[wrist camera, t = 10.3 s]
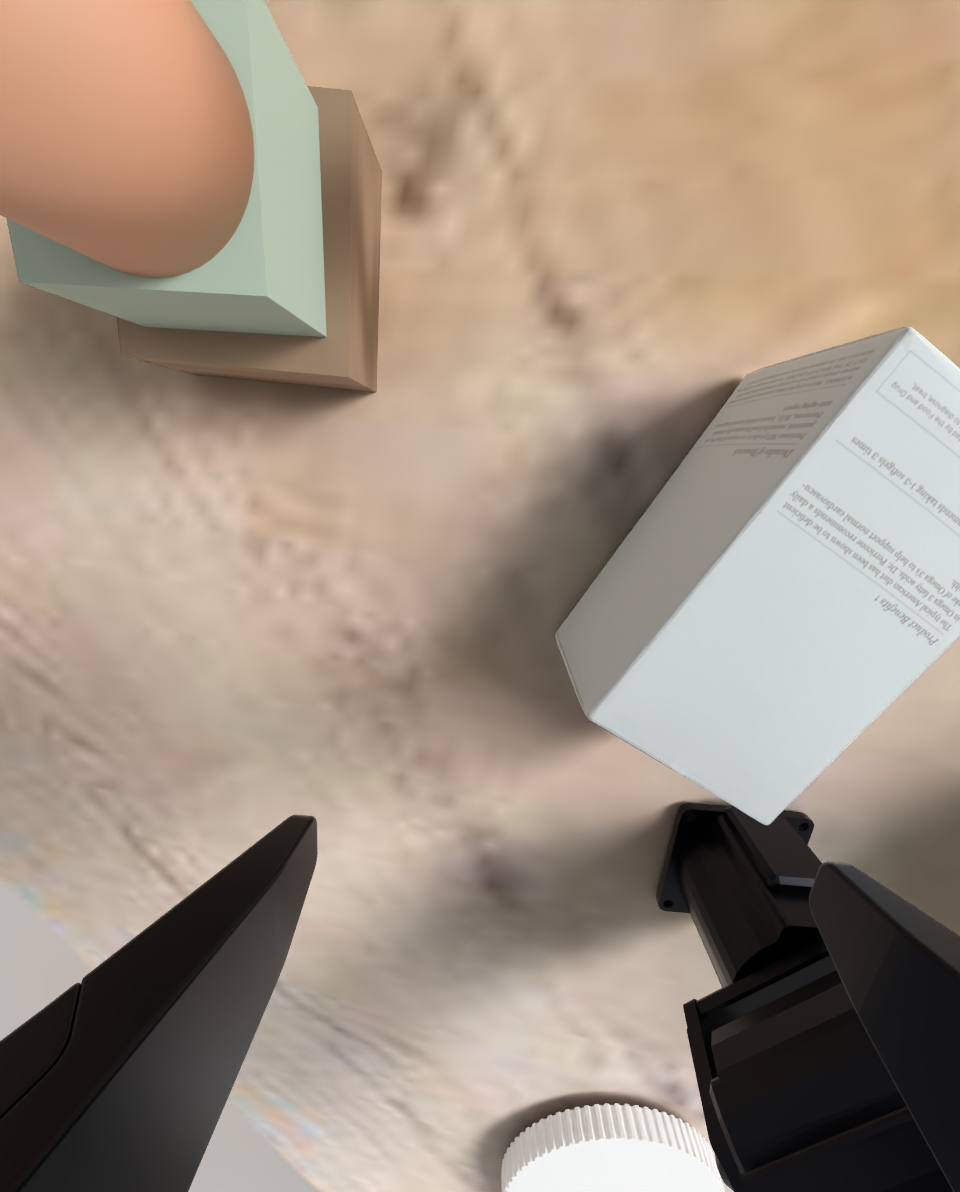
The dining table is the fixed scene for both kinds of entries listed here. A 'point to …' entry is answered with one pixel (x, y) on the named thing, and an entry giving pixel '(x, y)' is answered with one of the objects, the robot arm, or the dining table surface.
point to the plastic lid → (610, 1153)
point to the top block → (268, 227)
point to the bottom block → (347, 276)
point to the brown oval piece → (122, 132)
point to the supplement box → (784, 574)
